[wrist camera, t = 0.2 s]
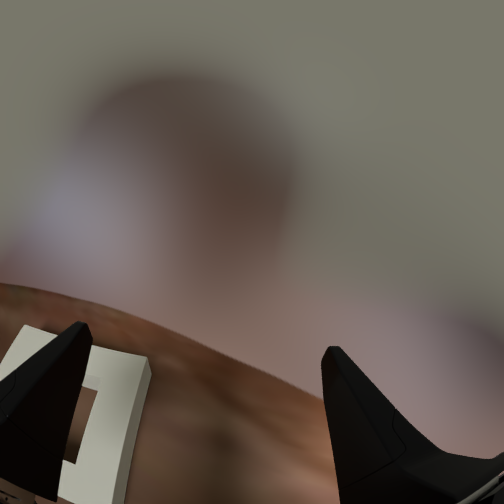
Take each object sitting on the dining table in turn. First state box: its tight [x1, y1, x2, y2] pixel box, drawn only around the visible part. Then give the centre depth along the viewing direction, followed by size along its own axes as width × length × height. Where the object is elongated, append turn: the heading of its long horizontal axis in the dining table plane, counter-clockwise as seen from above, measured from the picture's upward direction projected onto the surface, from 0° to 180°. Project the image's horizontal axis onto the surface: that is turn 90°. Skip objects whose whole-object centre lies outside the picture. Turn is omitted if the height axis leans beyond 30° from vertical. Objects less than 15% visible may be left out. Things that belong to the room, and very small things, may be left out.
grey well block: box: [0, 325, 152, 504], centre depth 16 cm, size 16×16×3 cm
